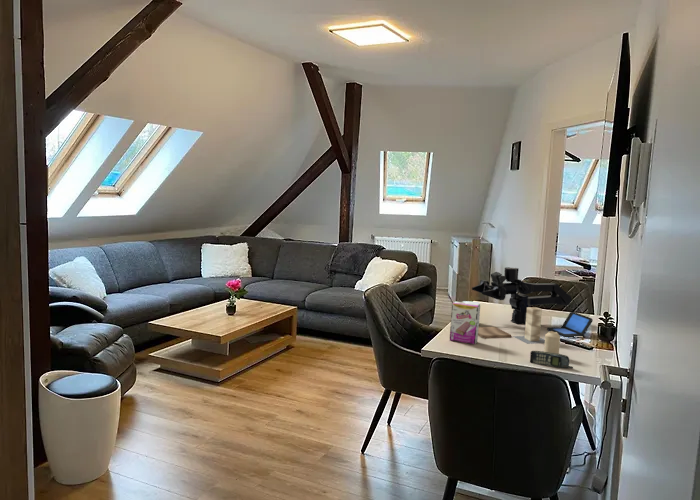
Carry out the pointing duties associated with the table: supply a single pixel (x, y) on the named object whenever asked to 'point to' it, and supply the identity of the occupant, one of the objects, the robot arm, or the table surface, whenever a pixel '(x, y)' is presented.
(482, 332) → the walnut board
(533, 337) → the birch block
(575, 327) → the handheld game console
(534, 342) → the gray mat
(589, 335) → the table surface
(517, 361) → the table surface
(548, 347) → the candle
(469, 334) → the candy bar box
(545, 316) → the table surface
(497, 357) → the table surface
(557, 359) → the mobile phone
